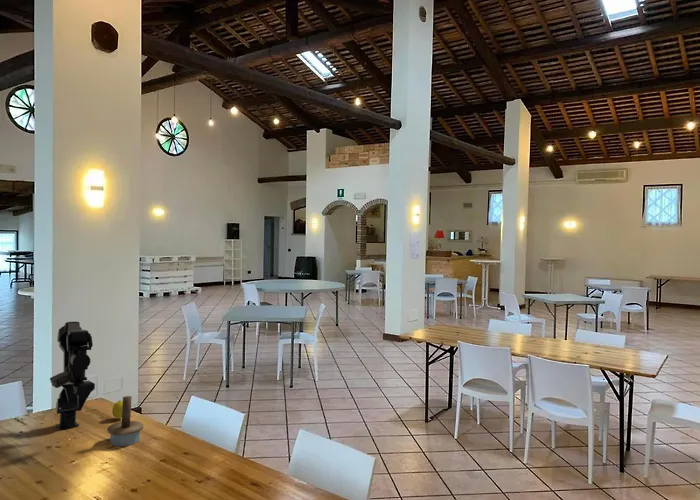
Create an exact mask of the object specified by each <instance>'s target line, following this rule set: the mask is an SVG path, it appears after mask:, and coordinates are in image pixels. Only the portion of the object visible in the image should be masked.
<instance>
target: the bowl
mask: <svg viewBox="0 0 700 500" xmlns="http://www.w3.org/2000/svg"><path fill="white" fill-rule="evenodd" d="M140 436H141V430H140V431H139V432H136V433H132V434H127V435H113V434H110V439H109V441H110V442H109V444H111V445H112V446H116V447H124V446H125V447H126V446H131V445H135V444H137V443H138V442H139V441H140V439H139V438H141V437H140ZM137 441H138V442H137ZM134 443H135V444H134Z"/></svg>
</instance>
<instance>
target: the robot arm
mask: <svg viewBox="0 0 700 500" xmlns="http://www.w3.org/2000/svg"><path fill="white" fill-rule="evenodd" d="M80 325H81V324H80V321H67V322H65V323H64V325H63V326H62V327H60V328H59V329H58V332H57V337H56V338H57V343H58V347H59V348H60V349H61V351H62V352H63V372H60V373H58V374H56V375H53V376H52V377H50V378H49V381H50V383H51V386H52V387H54V388H55V389H58V388H61V387H62V389H61V390H60V392H59V394H58V397H57V398H56V403H55V412H56V414H57V415H58V414H59V423H56V424H55V426H56V428H59V429H60V430H67V429H71V428H76V427H79V426H80V424H79V423H78V422H76V421H77V412H80V411H81V410H82V409H83V407H84V405H85V403H86V401H87V400H88V398H89V396H90V395H91V393H92V392H94V391H95V389H96V383H94V382H93V381H91V380H88V377H87V376H86V370H88V369H89V366H90V365H91V358H90V355H88V352H87V351H91V350H92V348H93V345H94V344H93V337H92V335H91V332H90V331H88V330H87V329H83V328H82V327H81V326H80Z"/></svg>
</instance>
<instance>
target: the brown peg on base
mask: <svg viewBox="0 0 700 500" xmlns="http://www.w3.org/2000/svg"><path fill="white" fill-rule="evenodd" d="M132 399H133V397H132V396H131V395H130V396H129V395H126V396H123V397H122V401H123V405H122V417H121V421H119V422H115V423H113V424H111V425H109V426H108V427H107V433H108V434H110V435H111V434H113V435H127V434H132V433H136V432H139V431H140V432H141V431H142V430H144V423H142V422H141V421H136V420H131V416H132V415H131V413H132Z"/></svg>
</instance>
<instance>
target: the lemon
mask: <svg viewBox="0 0 700 500" xmlns="http://www.w3.org/2000/svg"><path fill="white" fill-rule="evenodd" d="M122 405H123V400H118V401H117V402H115V403H114V404H113V407H112V410H111V411H112V413H111V414H112V416H113V417H114V418H115V419H118V420H121V419H122Z"/></svg>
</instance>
